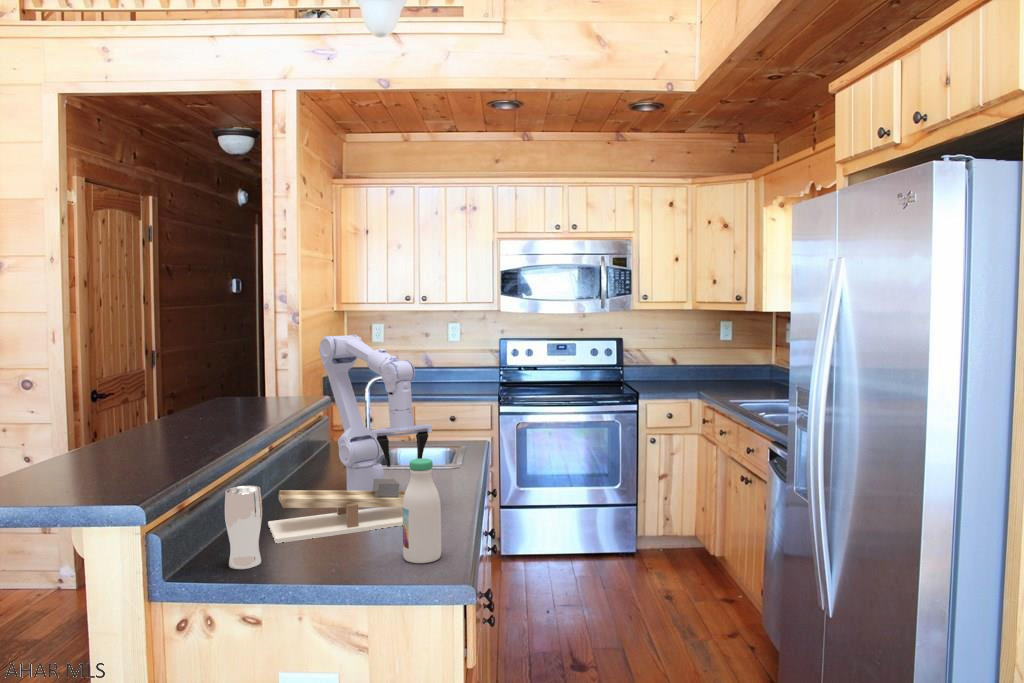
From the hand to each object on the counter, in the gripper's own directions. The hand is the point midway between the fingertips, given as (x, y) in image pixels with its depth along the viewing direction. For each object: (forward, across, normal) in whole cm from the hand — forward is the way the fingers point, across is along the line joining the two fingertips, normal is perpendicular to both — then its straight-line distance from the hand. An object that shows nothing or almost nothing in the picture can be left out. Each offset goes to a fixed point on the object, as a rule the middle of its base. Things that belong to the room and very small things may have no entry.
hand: (404, 464), depth 179 cm
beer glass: (+12, -36, -26) cm, 46 cm away
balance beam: (+7, -14, -6) cm, 17 cm away
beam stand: (+12, -15, -5) cm, 19 cm away
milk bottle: (+14, -1, -32) cm, 35 cm away
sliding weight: (+7, -6, -4) cm, 10 cm away
